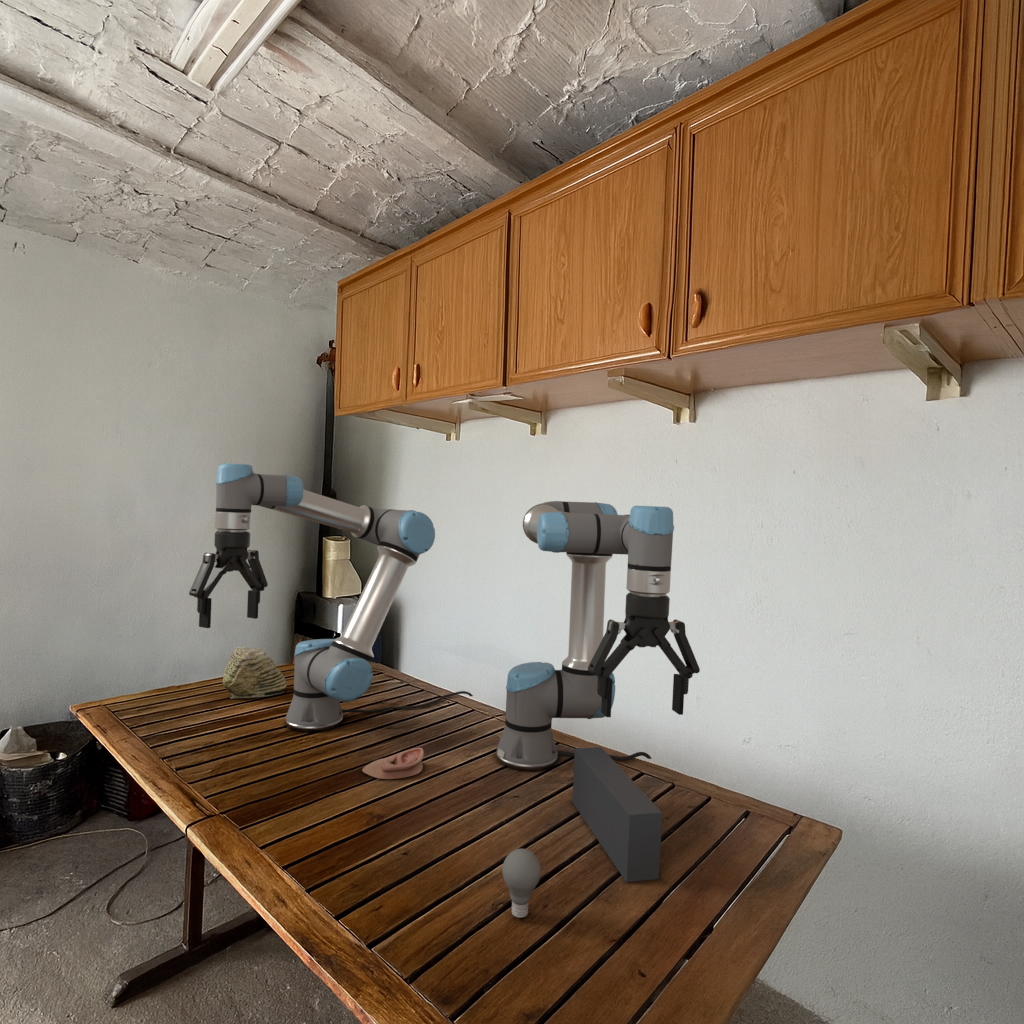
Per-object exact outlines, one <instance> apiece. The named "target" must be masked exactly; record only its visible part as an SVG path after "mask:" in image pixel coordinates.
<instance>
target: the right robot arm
mask: <svg viewBox="0 0 1024 1024" xmlns="http://www.w3.org/2000/svg"><path fill="white" fill-rule="evenodd" d="M522 529H523V532H524V535H525V536H526V537H527V539H528V540H530V541H531V542H533V543H534V544H537V546H538V549H539V550H540V551H542V552H551V553H555V554H558V553H565V555H566V557H568V559H569V560H570V561H571V579H570V580H571V581H570V601H569V602H570V605H569V627H568V628H569V629H568V631H569V632H568V655H567V656H566V658H564V659H563V660H562V661H561V669H555V666H554V665H553V664H552V663H550V662H542V661H532V662H525V663H520V664H517V665H515V666H513V667H512V668H511V669H509V671H508V672H507V678H506V679H507V680H506V686H505V691H506V696H505V697H506V701H505V716H504V717H505V721H504V728H503V730H502V733H501V736H500V739H499V742H498V743H497V747H496V754H495V755H496V760H497V762H499V763H500V764H502V765H503V766H505V767H507V768H510V769H513V770H518V771H529V772H531V771H533V772H535V771H542V770H547V769H550V768H552V767H553V766H555V765H556V764H557V762H558V756H565V757H573V758H574V754H575V752H570V751H564V750H563V751H562V750H558V749H557V745H556V740H555V737H554V733H553V729H552V725H553V723H552V722H553V719H587V720H591V719H603V718H612V708H613V706H614V705H613V704H614V701H615V695H616V677H615V674H614V673H613V672H614V671H615V670H616V669H617V667H618V666H619V665H620V664H621V663H622V662H623V661H624V659H625V658H626V657H627V656H628V654H629V653H630V652H631V651H633V650H634V649H636V647H637V648H646V647H650V648H657V647H659V648H660V650H661V651H662V652H663V654H664V655H665V656H666V658H667V660H668V661H669V662H670V664H671V665H672V666H673V667H674V669H675V670H676V671H677V673H673V680H672V700H671V701H672V703H671V711H673V712H675V713H676V714H677V715H679V716H682V715H684V703H685V695H688V694H689V685H690V684H689V681H690V679H692V678H693V676H694V675H695V674H699V673H700V671H701V667H700V665H699V663H698V661H697V659H696V656H695V653H694V652H693V649H692V647H691V643H690V642H689V640H688V637H687V634H686V624H685V622H684V621H682V620H679V619H676V618H675V619H673V620H672V621H669V615H670V601H671V598H670V597H669V596H668V595H667V594H670V592H671V578H672V577H671V576H672V573H671V572H672V558H673V541H674V540H673V539H674V531H675V525H674V511H673V509H672V508H671V507H669V506H658V505H657V506H656V505H655V506H654V505H633V506H632V507H631V508H630V511H629V514H618V511H617V509H616V508H615V507H614V506H613V505H612V504H610V503H605V502H597V501H595V502H594V501H593V502H588V501H563V500H551V501H545V502H542V503H538V504H535V505H534V506H532V507H531V508H529V509H528V510H527V511H526V512H525V515H524V516H523V518H522ZM613 555H627V569H626V587H625V589H626V590H627V591H628V593H627V594H626V595H625V607H624V608H625V610H624V612H625V613H624V614H625V618H624V621H617V620H614V619H608V621H607V624H606V631H605V633H604V630H605V629H604V628H605V627H604V626H605V603H606V602H605V600H606V599H605V598H606V577H607V576H606V575H607V563H608V562H609V561H610V560H611V559H612V558H613ZM622 631H624V633H625V635H624V636H623V637H622V638H621V640H620V643H619V644H618V645H617V646H616V647H615V649H614V650H613V651H612V652H611V650H612V648H613V647H614V645H615V643H616V641H617V639H618V635H620V634H621V632H622ZM669 631H670V633H672V634H673V637H674V639H675V642H676V644H677V648H678V649H679V652H680V654H681V657H682V659H683V660H682V659H681V658H680V656H679V654H678V653H677V652H676V650H674V648H673V647H672V644H671V643H670V641H669V640H668V639H667V637H666V636H667V635H668V633H669ZM608 755H609V756H610V757H611V758H612V759H613V760H614V761H620V762H621V761H622V762H623V761H624V762H625V761H630V760H633V759H635V758H638V757H645V758H646V759H648V760H651V759H653V758H652V757H651V755H650V754H649V753H647V752H645V751H638V752H635V753H632V754H629V755H626V756H619V755H612V754H608Z"/></svg>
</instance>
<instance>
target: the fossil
mask: <svg viewBox="0 0 1024 1024" xmlns="http://www.w3.org/2000/svg"><path fill="white" fill-rule="evenodd" d="M222 676H223V677H222V685H223V687H224V688H225V690H226V691H228V693H229V698H230V699H250V698H264V697H271V696H275V695H281V694H284V693H285V691H286V689H287V687H288V686H287V680H286V678H285V676H284V674H283V673H282V672H281V669H279V668H278V667H277V665H276V663H275V662H274V660H273V659H272V658H271V657H270V656H269V655H268V654H267V653H266V652H265V650H264V649H263V648H260V647H258V648H251V647H247V646H246V647H245V646H238V647H237V648H236V649H235V650H233V651H232V653H231V656H230V657H229V659H228V660H227V663H226V666H225V668H224V671H223V675H222Z"/></svg>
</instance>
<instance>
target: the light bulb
mask: <svg viewBox="0 0 1024 1024" xmlns="http://www.w3.org/2000/svg"><path fill="white" fill-rule="evenodd" d="M541 875H542V866H541V863H540V861H539V859H538V857H537V856H536V855H535V853H534V852H533V851H531V850H530V849H528V848H517V849H514V850H512V851H511V852H509V854H507V856H506V857H505V859H504V860H503V863H502V878H503V880H504V883H505V885H506V886H507V889H508V890H509V897H510V900H511V914H512V915H513V917H516V918H519V919H521V918H525V917H527V916H528V914H529V902H530V900H531V898H532V894H533V891H534V890H535V889H536V887H537V886H538V884H539V882H540V879H541Z"/></svg>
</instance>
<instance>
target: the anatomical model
mask: <svg viewBox="0 0 1024 1024" xmlns="http://www.w3.org/2000/svg"><path fill="white" fill-rule="evenodd" d="M424 755H425V751H424V749H423V748H422V747H414V748H410V749H407V750H404V751H401V752H398V753H396V754H393V755H391V756H388V757H384V758H380V759H375V760H373V761H372V762H369V763H368V764H366V765H365V766H364V767H363V768H362V770H361V771H362V773H363V774H366V775H368V776H369V777H372V778H375V779H379V780H394V779H395V780H396V779H404V778H408V777H412V776H415V775H418V774H420V773H421V772H422V771H423V768H424V765H423V762H422V761H423V759H424Z"/></svg>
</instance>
